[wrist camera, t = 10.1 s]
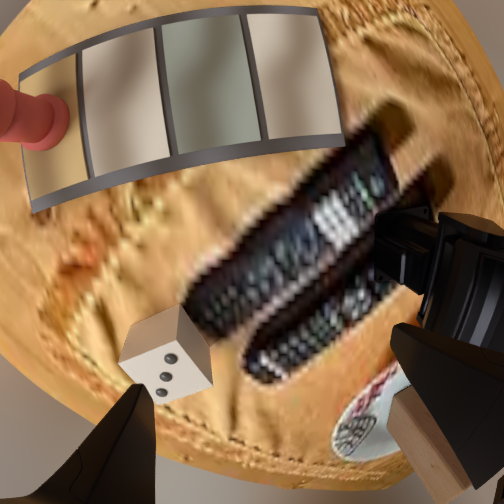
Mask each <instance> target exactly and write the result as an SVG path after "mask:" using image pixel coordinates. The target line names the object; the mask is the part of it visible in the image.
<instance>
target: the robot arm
mask: <svg viewBox="0 0 504 504" xmlns="http://www.w3.org/2000/svg"><path fill="white" fill-rule="evenodd" d="M380 217H381V221H380ZM428 218H429V209H428V207H427V206H424V205H421V206H415V207H409V208H404V209H398V210H392V211H387V212H381V213H378V214H376V216H375V240H374V266H375V269H374V280H375V281H376V282H377V283H382V282H386V281H389V280H392V279H393V280H395V281H396V282H397V283H399V284H400V285H405V286H406V287H408V288H409V289H411V290H412V291H413V292H415V293H416V294H418V295H422V294H424V297H423V300H422V304H421V307H420V311H419V312H418V314H417V317H416V319H417V321H418V322H419V324H420V326H421V328H419V327H416V326H413V325H410V324H407V323H404V322H402V323H399V324H396V325H394V327H393V329H392V334H391V340H390V346H391V349H392V351H393V353H394V354H395V356H396V358H397V360H398V362H399V364H400V366H401V368H402V369H403V371H404V373H405V375H406V377H407V378H408V380H409V382H410V383H411V385H412V386H413V388H414V389H415V391H416V392H417V394H418V395H419V397H420V398H421V400H422V401H423V403H424V404H425V406H426V407H427V409H428V410H429V412H430V414H431V415H432V417H433V418H434V420H435V422H436V423H437V425H438V426H439V428H440V430H441V431H442V433H443V434H444V436H445V438H446V439H447V441H448V443H449V444H450V446H451V448H452V449H453V451H454V453H456V454H455V455H456V457H457V458H458V460H459V462H460V463H461V465H462V467H463V469H464V471H465V472H466V474H467V476H468V478H469V480H470V481H471V483H472V485H473V487H474V489H475V490H477V489H478V488H479V487H481V486H482V485H483V484H485V483H486V482H487V481H488V480H489V479H490V478H492V477H493V476H494V475H495V474H496V473H497V472H499V471H500V470H501V469H502V468H503V467H504V230H503V229H502V228H501V227H500V226H498V225H497V224H496V223H494V222H493V221H491V220H488V219H485V218H482V217H478V216H475V215H471V214H460V213H447V212H439V215H438V220H439V224H438V223H436V222H433V221H430V220H428ZM380 276H381V277H380ZM379 277H380V278H379ZM155 459H156V432H155V417H154V402H153V399H152V397H151V395H150V393H149V392H148V390H147V388H146V386H145V385H144V384H143V383H138V384H132V385H131V386H130V387H129V388H128V389H127V391H126V392H125V393H124V394H123V395H122V396H121V398H120V399H119V400H118V401H117V402H116V403H115V405H114V406H113V407H112V408H111V409H110V410H109V412H108V413H107V414H106V415H105V416H104V418H103V419H102V420H101V421H100V422H99V423H98V425H97V426H96V427H95V428H94V429H93V430H92V432H91V433H90V434H89V435H88V436H87V438H86V439H85V440H84V441H83V442H82V443H81V445H80V446H79V447H78V449H76V451H75V452H74V453H73V454H72V455H71V456H70V457H69V459H68V460H67V461H66V462H65V463H64V464H63V465H62V466H61V467H60V468H59V469H58V470H57V471H56V472H55V473H54V474H53V475H52V476H51V477H50V478H49V479H48V480H47V481H46V482H44V483H43V484H42V485H41V486H40V487H39V488H38V489H37V490H36V491H34V492H33V493H31V494H29V495H27V496H24V497H16V498H6V499H0V504H155ZM493 504H504V475H503V476H502V477H501V478H500V479H499V480H498V483H497V488H496V493H495V497H494V502H493Z"/></svg>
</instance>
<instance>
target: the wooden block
mask: <svg viewBox="0 0 504 504" xmlns="http://www.w3.org/2000/svg"><path fill="white" fill-rule="evenodd" d="M386 427H387V429H388V431H389V432H390V434H391V435H392V437H393V438H394V440H395V441H396V443H397V444H398V446H399V447H400V449H401V450H402V452H403V453H404V455H405V456H406V458H407V460H408V461H409V463H410V464H411V466H412V467H413V469H414V470H415V472H416V473H417V475H418V476H419V478H420V480H421V481H422V483H423V484H424V486H425V487H426V489H427V490H428V492H429V494H430V495H431V497H432V498H433V500H434V501H435V503H436V504H448V503H449V502H451V501H452V500H453V499H455V498H456V497H458V496H459V495H460V494H462V493H463V492H464V491H466V490H467V489H468V488H469V487H470V486H472V483H471V481H470V480H469V478H468V476H467V474H466V472H465V471H464V469H463V467H462V465H461V463H460V462H459V460H458V458H457V457H456V455H455V454H456V453H454V451H453V449H452V448H451V446H450V444H449V443H448V441H447V439H446V438H445V436H444V434H443V433H442V431H441V430H440V428H439V426H438V425H437V423H436V422H435V420H434V418H433V417H432V415H431V414H430V412H429V410H428V409H427V407H426V406H425V404H424V403H423V401H422V400H421V398H420V397H419V395H418V394H417V392H416V391H415V389H414V388H413V386H412V385H411V386H410V387H408V388H406V389H404V390H403V391H401V392H399V393H397V394H396V395H394V397H393V400H392V405H391V409H390V413H389V418H388V422H387V426H386Z"/></svg>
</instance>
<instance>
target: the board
mask: <svg viewBox="0 0 504 504" xmlns="http://www.w3.org/2000/svg"><path fill="white" fill-rule="evenodd" d="M19 91H20V92H23V93H26V94H28V95H31V96H34V97H36V96H38V95H40V94H51V95H53V96H55V97H58V98H60V99H62V100H64V101H65V102H66V104H67V106H68V108H69V112H70V121H69V126H68V129H67V132H66V134H65V135H64V137H63V139H62V140H61V141H60V142H59V143H58V144H57V145H56V146H55V147H53V148H52V149H49V150H46V151H32V150H27V149H25V148H24V147H23V146H22V145H21V149H22V158H23V165H24V172H25V178H26V183H27V189H28V194H29V198H30V203H31V207H32V212H33V214H34V213H36V212H39V211H41V210H44V209H47V208H49V207H52V206H55V205H58V204H60V203H63V202H66V201H69V200H72V199H75V198H78V197H81V196H84V195H87V194H90V193H94V192H97V191H100V190H103V189H107V188H110V187H114V186H117V185H121V184H124V183H128V182H131V181H135V180H139V179H143V178H147V177H151V176H155V175H159V174H163V173H167V172H172V171H176V170H181V169H185V168H190V167H195V166H200V165H205V164H210V163H216V162H221V161H227V160H233V159H239V158H245V157H251V156H258V155H265V154H272V153H280V152H289V151H297V150H307V149H318V148H330V147H344V146H345V140H344V132H343V125H342V119H341V112H340V106H339V101H338V95H337V90H336V84H335V79H334V74H333V70H332V65H331V61H330V56H329V52H328V48H327V44H326V40H325V36H324V32H323V28H322V25H321V21H320V18H319V14H318V11H317V8H309V7H296V6H272V5H257V6H233V7H220V8H210V9H202V10H195V11H188V12H182V13H177V14H172V15H167V16H162V17H157V18H153V19H149V20H145V21H141V22H138V23H134V24H131V25H127V26H124V27H121V28H118V29H114V30H111V31H109V32H106V33H103V34H100V35H97V36H95V37H92V38H90V39H87V40H85V41H82V42H80V43H78V44H75V45H73V46H71V47H69V48H66V49H64V50H62V51H60V52H58V53H56V54H54V55H52V56H50V57H48V58H46V59H44V60H42V61H41V62H39V63H37V64H35V65H33V66H32V67H30V68H28V69H27V70H25V71H23V72H22V73H20V74H19Z"/></svg>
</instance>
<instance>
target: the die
mask: <svg viewBox="0 0 504 504" xmlns="http://www.w3.org/2000/svg"><path fill="white" fill-rule="evenodd" d="M118 364H119V365H120V366H121V367H122V368H123V370H124V371H125V372H126V373H127V374H128V375H129V376H130V377H131V378H132V379H133V380H134V381H135V383H136V384H138V383H143V384H144V385H145V386H146V388H147V390H148V392H149V393H150V395H151V397H152V399H153V401H154V402H155V403H156V404H158V405H160V404H164V403H167V402H170V401H173V400H176V399H179V398H182V397H185V396H188V395H191V394H194V393H197V392H199V391H202V390H205V389H208V388H210V387H213V380H212V370H211V359H210V348H209V346H208V344H207V343H206V341H205V340H204V338H203V337H202V336H201V334H200V333H199V331H198V330H197V328H196V327H195V325H194V324H193V322H192V321H191V319H190V318H189V316H188V315H187V313H186V312H185V310H184V309H183V307H182V306H181V304H180V303H179V304H177V305H175V306H173V307H170V308H168V309H166V310H164V311H162V312H160V313H158V314H155V315H153V316H151V317H149V318H147V319H145V320H142V321H140V322H138V323H136V324H134V325H131V326H130V329H129V332H128V335H127V337H126V340H125V343H124V346H123V350H122V353H121V356H120V359H119V362H118Z"/></svg>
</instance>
